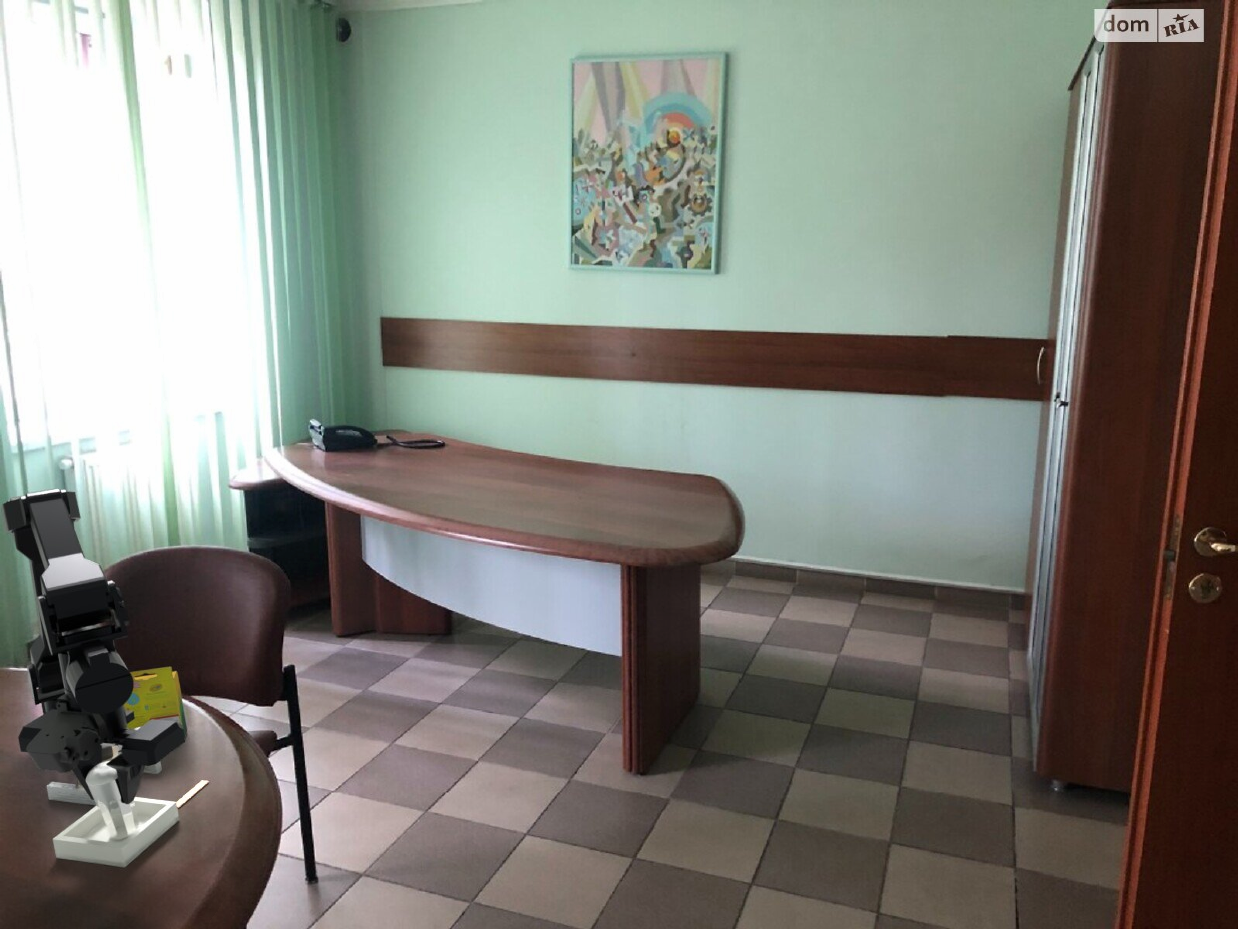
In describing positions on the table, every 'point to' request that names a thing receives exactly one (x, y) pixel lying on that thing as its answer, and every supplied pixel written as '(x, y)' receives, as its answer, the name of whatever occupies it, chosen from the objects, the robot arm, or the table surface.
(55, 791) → the slide rails
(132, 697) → the crayon box
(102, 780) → the milkshake
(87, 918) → the table surface
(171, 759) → the table surface
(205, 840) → the table surface
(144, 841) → the tray
